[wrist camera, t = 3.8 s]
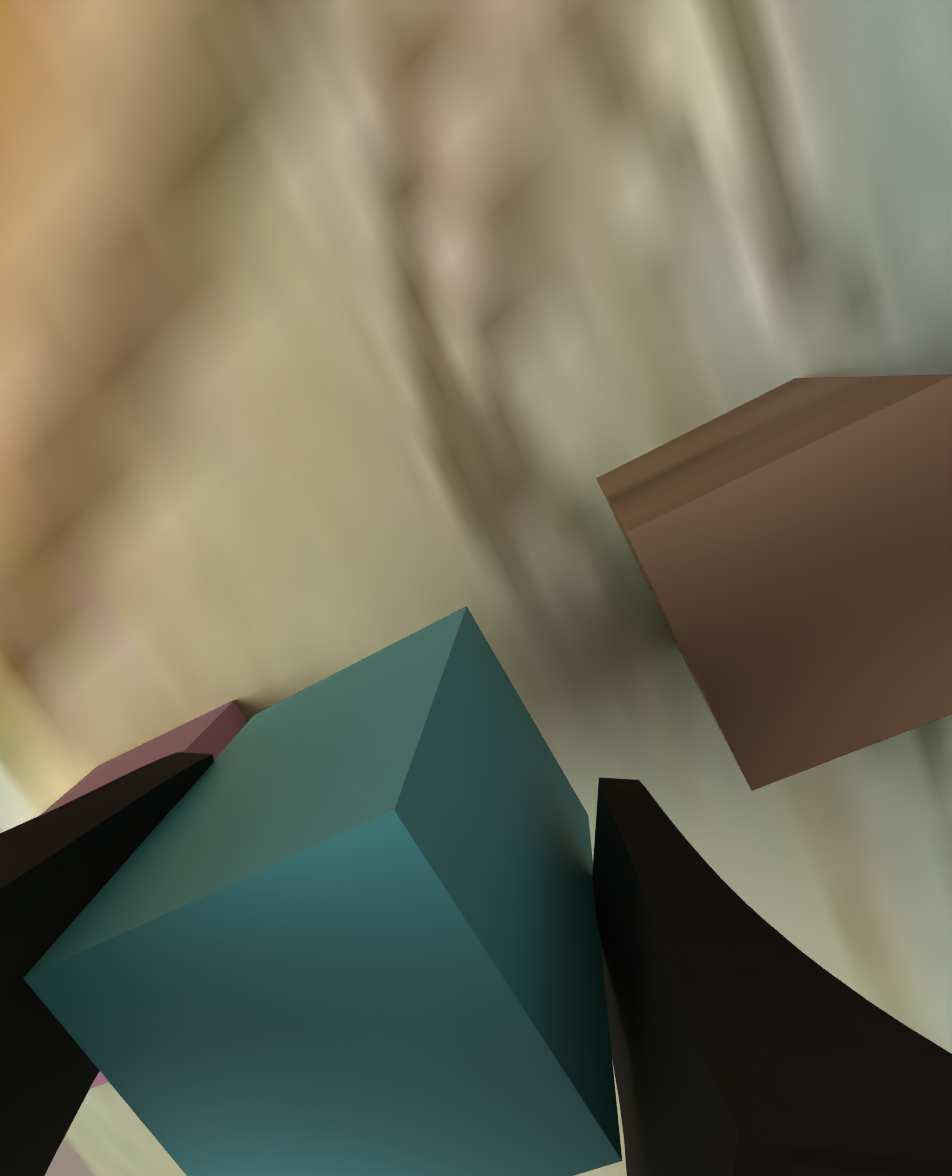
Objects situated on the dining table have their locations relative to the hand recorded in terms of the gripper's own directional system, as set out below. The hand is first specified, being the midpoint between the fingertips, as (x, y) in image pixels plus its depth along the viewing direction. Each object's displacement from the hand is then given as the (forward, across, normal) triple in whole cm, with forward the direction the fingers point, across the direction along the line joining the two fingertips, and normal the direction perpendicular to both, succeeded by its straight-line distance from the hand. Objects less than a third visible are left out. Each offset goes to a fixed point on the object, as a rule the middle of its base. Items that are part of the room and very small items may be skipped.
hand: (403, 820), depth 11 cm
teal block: (+2, 0, 0) cm, 2 cm away
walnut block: (+6, -6, -4) cm, 10 cm away
